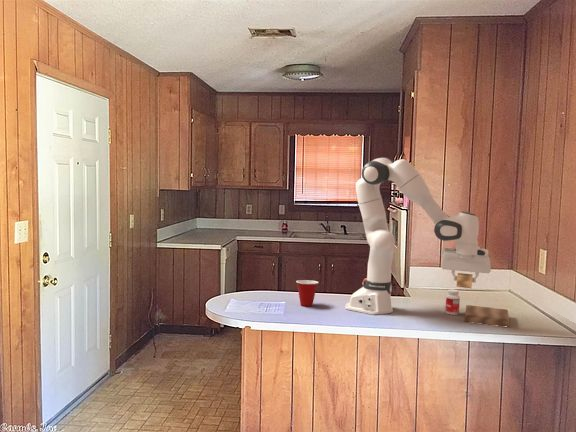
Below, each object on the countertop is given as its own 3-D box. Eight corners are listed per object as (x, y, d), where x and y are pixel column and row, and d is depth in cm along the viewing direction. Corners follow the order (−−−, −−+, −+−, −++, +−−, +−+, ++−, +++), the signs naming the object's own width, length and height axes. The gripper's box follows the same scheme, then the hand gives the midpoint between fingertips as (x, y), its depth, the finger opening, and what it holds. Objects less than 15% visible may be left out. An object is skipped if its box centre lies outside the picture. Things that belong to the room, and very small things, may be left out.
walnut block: (464, 323, 216) (464, 314, 216) (465, 313, 233) (466, 304, 232) (508, 328, 209) (509, 319, 209) (507, 318, 226) (507, 309, 226)
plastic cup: (318, 302, 241) (318, 279, 240) (317, 308, 231) (318, 283, 230) (296, 301, 242) (297, 277, 241) (294, 307, 232) (295, 282, 231)
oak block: (456, 286, 209) (457, 275, 208) (457, 284, 214) (458, 272, 214) (471, 288, 207) (472, 276, 206) (471, 285, 212) (472, 274, 212)
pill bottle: (443, 311, 232) (444, 288, 231) (455, 311, 233) (456, 288, 232) (448, 315, 226) (449, 291, 225) (461, 315, 226) (462, 292, 226)
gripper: (440, 248, 210) (438, 280, 211) (491, 252, 202) (489, 285, 204) (441, 246, 216) (440, 277, 217) (491, 250, 208) (489, 282, 209)
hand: (464, 281), depth 210 cm, fingers closed on oak block, 6 cm apart
